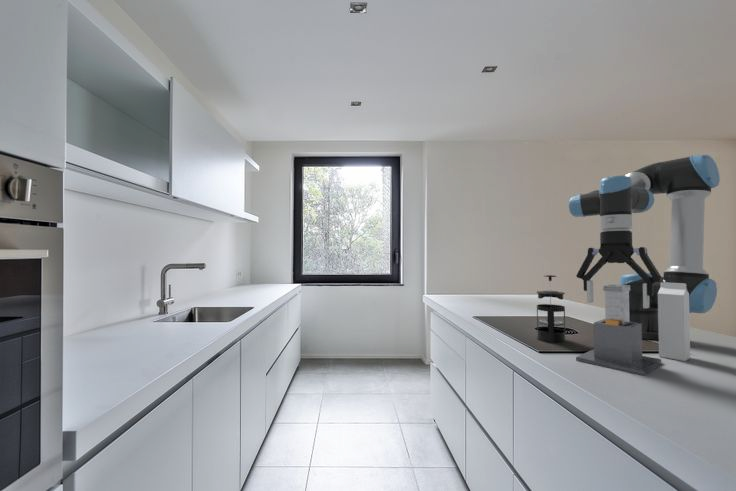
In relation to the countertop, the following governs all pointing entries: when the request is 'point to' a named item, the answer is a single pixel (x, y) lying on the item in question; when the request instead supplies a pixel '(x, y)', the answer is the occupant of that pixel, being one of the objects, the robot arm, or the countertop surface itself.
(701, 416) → the countertop surface
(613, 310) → the column
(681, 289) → the milk
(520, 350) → the countertop surface
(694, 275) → the robot arm
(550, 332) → the french press
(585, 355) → the base
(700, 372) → the countertop surface
